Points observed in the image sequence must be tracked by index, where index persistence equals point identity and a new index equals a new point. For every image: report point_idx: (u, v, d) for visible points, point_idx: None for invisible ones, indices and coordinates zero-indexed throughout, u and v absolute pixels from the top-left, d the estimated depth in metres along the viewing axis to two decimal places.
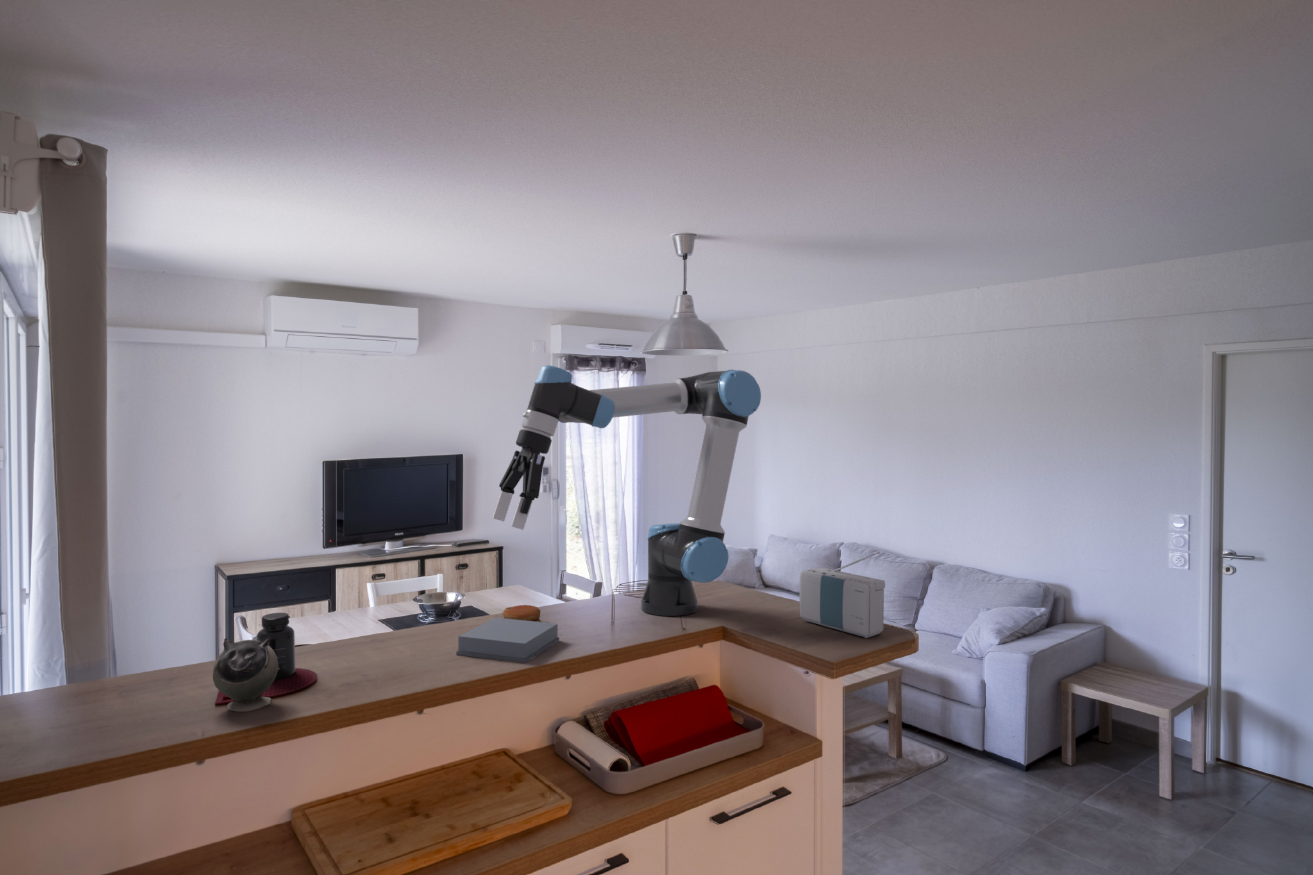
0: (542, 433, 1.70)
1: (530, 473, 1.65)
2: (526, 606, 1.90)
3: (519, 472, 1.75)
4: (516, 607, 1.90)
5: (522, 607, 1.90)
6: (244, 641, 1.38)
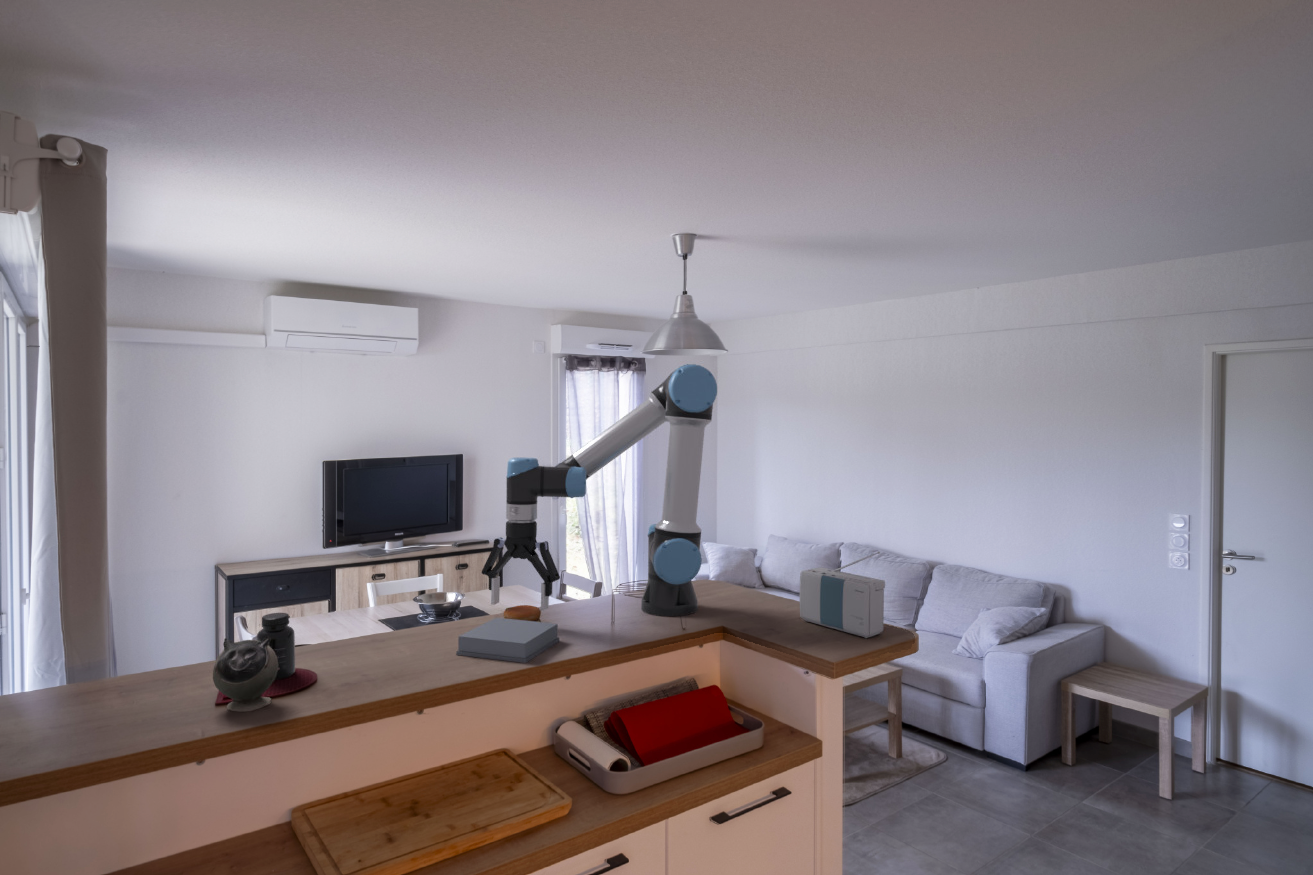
0: (533, 520, 1.88)
1: (546, 561, 1.85)
2: (526, 606, 1.90)
3: (509, 557, 1.90)
4: (516, 607, 1.90)
5: (522, 607, 1.90)
6: (244, 641, 1.38)
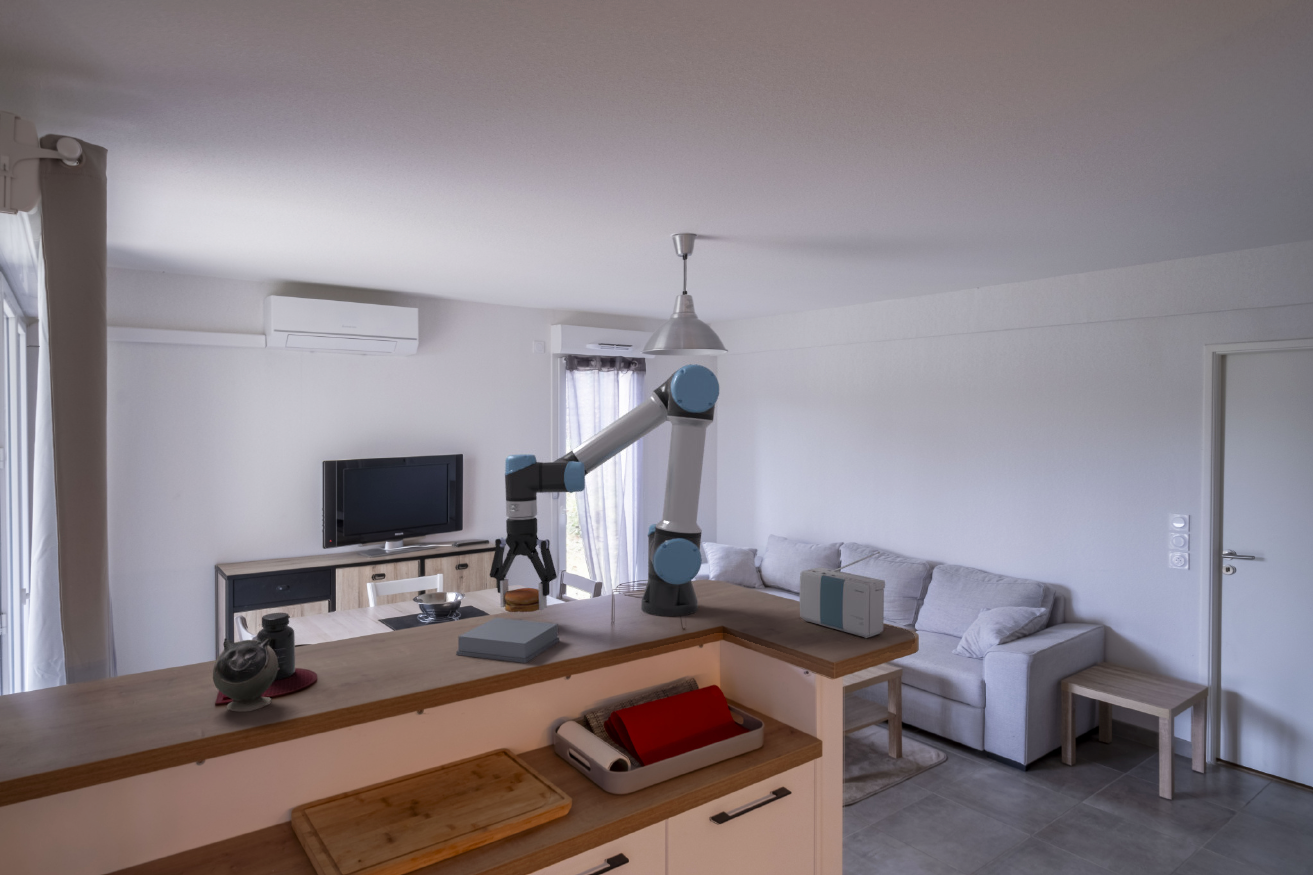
0: (533, 517, 1.88)
1: (545, 560, 1.86)
2: (528, 589, 1.90)
3: (513, 556, 1.90)
4: (518, 590, 1.90)
5: (524, 590, 1.90)
6: (244, 641, 1.38)
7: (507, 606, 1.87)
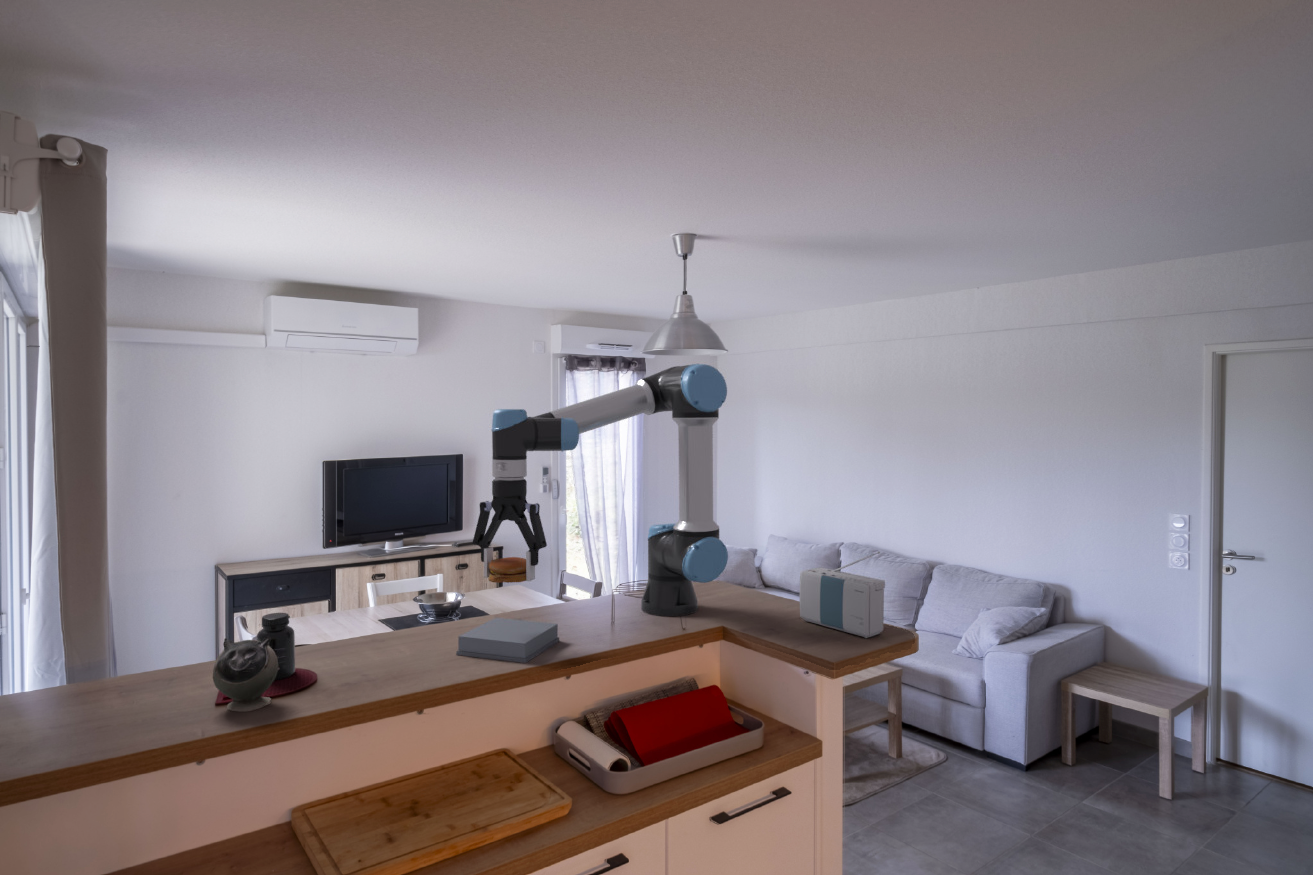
0: (522, 478, 1.69)
1: (534, 525, 1.67)
2: (514, 558, 1.72)
3: (499, 521, 1.71)
4: (503, 559, 1.72)
5: (510, 559, 1.71)
6: (244, 641, 1.38)
7: (491, 576, 1.69)
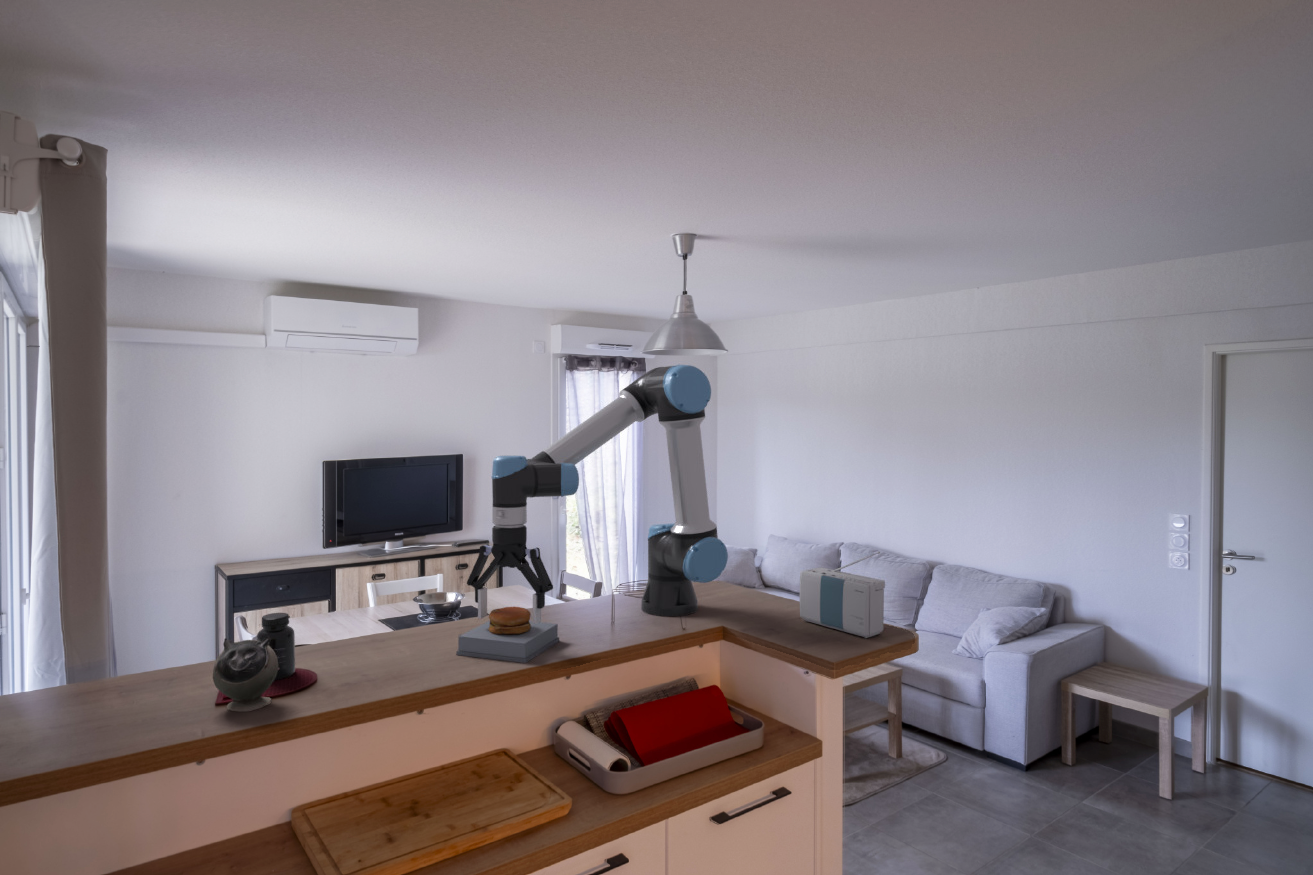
0: (522, 525, 1.70)
1: (537, 570, 1.67)
2: (515, 608, 1.72)
3: (497, 566, 1.72)
4: (504, 609, 1.72)
5: (510, 609, 1.72)
6: (244, 641, 1.38)
7: (491, 627, 1.69)
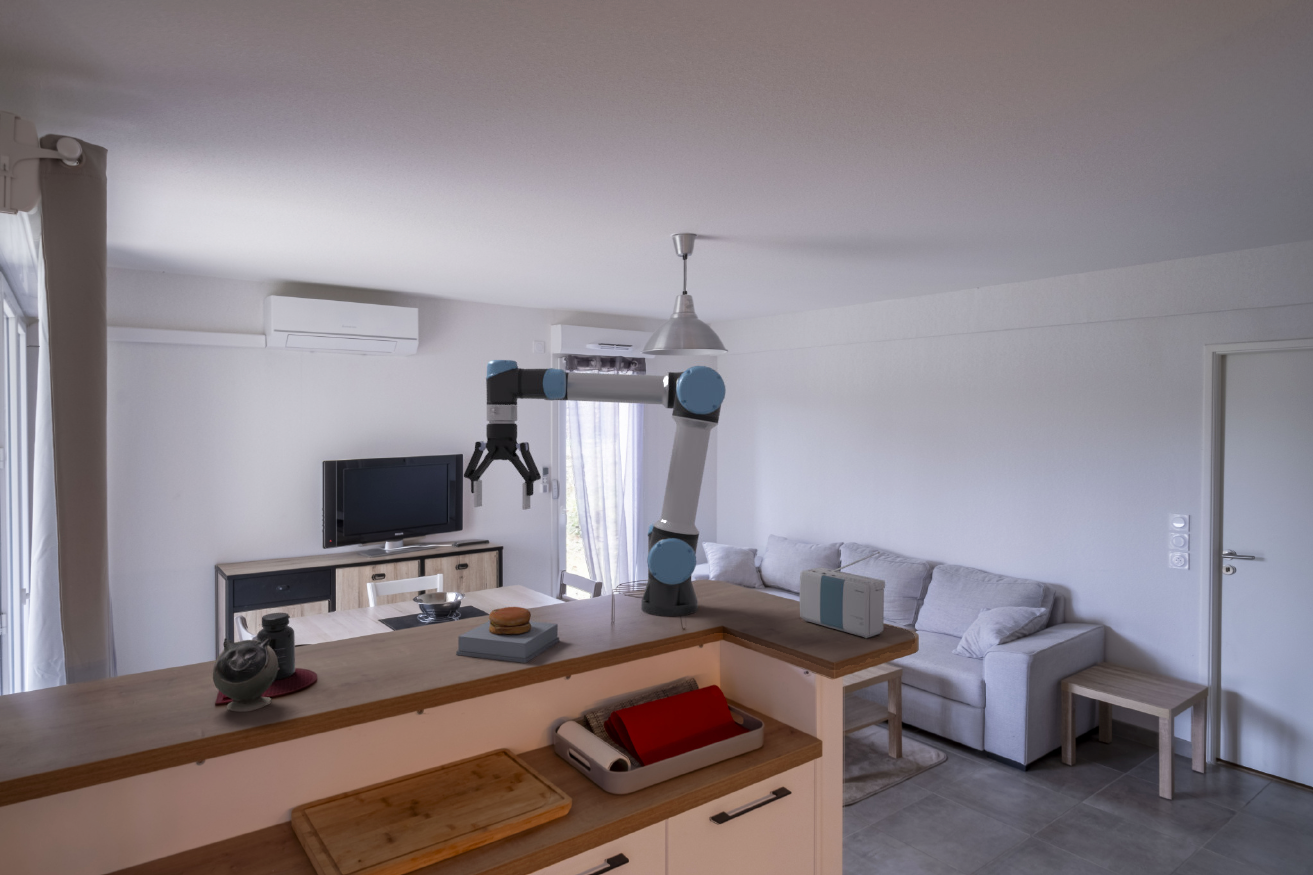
0: (513, 422, 1.90)
1: (527, 460, 1.87)
2: (515, 608, 1.72)
3: (491, 460, 1.92)
4: (504, 609, 1.72)
5: (510, 609, 1.71)
6: (244, 641, 1.38)
7: (491, 627, 1.69)
